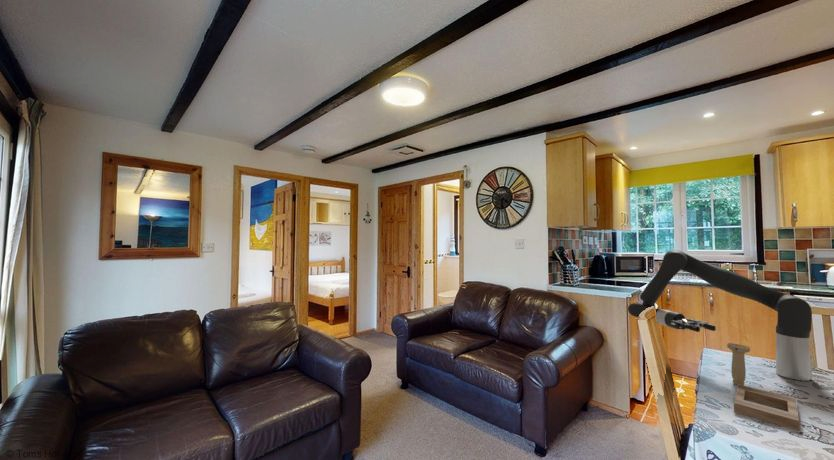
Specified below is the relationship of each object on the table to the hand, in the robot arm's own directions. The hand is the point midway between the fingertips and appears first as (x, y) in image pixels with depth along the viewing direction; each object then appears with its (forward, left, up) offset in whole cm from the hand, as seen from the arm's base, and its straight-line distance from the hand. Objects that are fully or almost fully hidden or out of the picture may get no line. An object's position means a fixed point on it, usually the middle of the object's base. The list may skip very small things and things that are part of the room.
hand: (707, 329), depth 139 cm
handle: (-2, +11, -19) cm, 22 cm away
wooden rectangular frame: (+8, +29, -18) cm, 35 cm away
